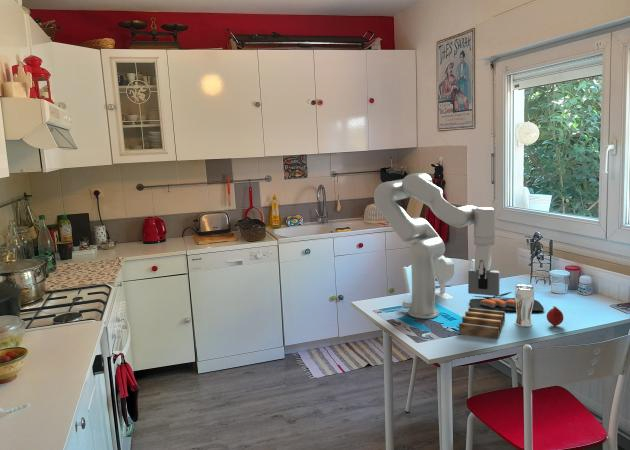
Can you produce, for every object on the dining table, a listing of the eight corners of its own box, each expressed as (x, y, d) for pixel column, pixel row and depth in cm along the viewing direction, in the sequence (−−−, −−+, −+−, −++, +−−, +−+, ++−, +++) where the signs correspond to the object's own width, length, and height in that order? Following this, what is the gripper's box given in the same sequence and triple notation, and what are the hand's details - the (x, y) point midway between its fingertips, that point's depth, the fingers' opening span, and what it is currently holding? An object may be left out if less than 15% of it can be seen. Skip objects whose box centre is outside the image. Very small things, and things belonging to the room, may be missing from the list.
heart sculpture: (430, 290, 251) (430, 254, 248) (439, 289, 252) (439, 253, 249) (445, 299, 236) (445, 261, 233) (455, 298, 237) (455, 260, 234)
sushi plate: (472, 313, 219) (472, 304, 218) (464, 292, 248) (464, 284, 247) (545, 314, 214) (546, 305, 213) (529, 293, 243) (529, 285, 242)
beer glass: (517, 319, 207) (518, 283, 205) (535, 323, 203) (536, 286, 201) (511, 325, 202) (512, 287, 200) (529, 328, 198) (531, 290, 195)
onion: (558, 323, 202) (559, 303, 201) (565, 328, 197) (566, 308, 195) (543, 323, 202) (544, 304, 201) (550, 329, 197) (551, 309, 195)
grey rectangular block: (468, 293, 200) (468, 270, 198) (469, 291, 202) (469, 268, 201) (498, 296, 195) (498, 272, 193) (499, 293, 197) (499, 270, 196)
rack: (458, 333, 195) (458, 322, 195) (468, 316, 213) (468, 306, 212) (497, 339, 189) (498, 327, 188) (504, 321, 207) (505, 310, 206)
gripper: (477, 235, 204) (477, 281, 207) (469, 243, 190) (469, 292, 193) (497, 236, 201) (496, 282, 204) (491, 245, 186) (490, 294, 189)
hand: (483, 287), depth 198 cm, fingers closed on grey rectangular block, 3 cm apart
